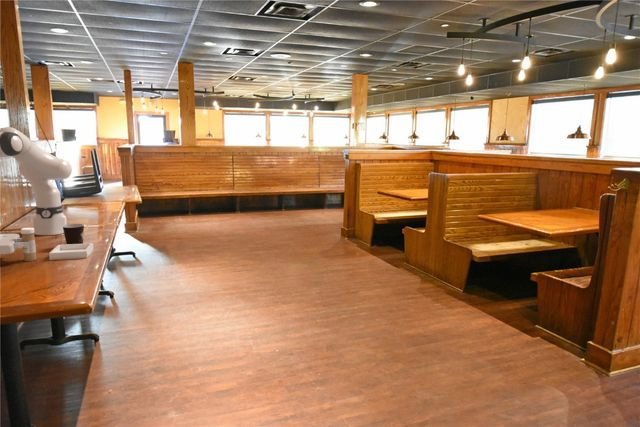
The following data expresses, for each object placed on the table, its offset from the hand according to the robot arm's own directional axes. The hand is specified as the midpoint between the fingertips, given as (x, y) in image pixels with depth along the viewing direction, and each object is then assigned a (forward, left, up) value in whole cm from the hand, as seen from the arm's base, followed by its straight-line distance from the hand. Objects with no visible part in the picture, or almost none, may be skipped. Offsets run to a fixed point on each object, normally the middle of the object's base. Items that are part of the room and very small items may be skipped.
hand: (30, 242), depth 178 cm
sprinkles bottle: (0, 0, -8) cm, 8 cm away
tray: (-5, +14, -8) cm, 17 cm away
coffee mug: (-21, +13, -8) cm, 26 cm away
